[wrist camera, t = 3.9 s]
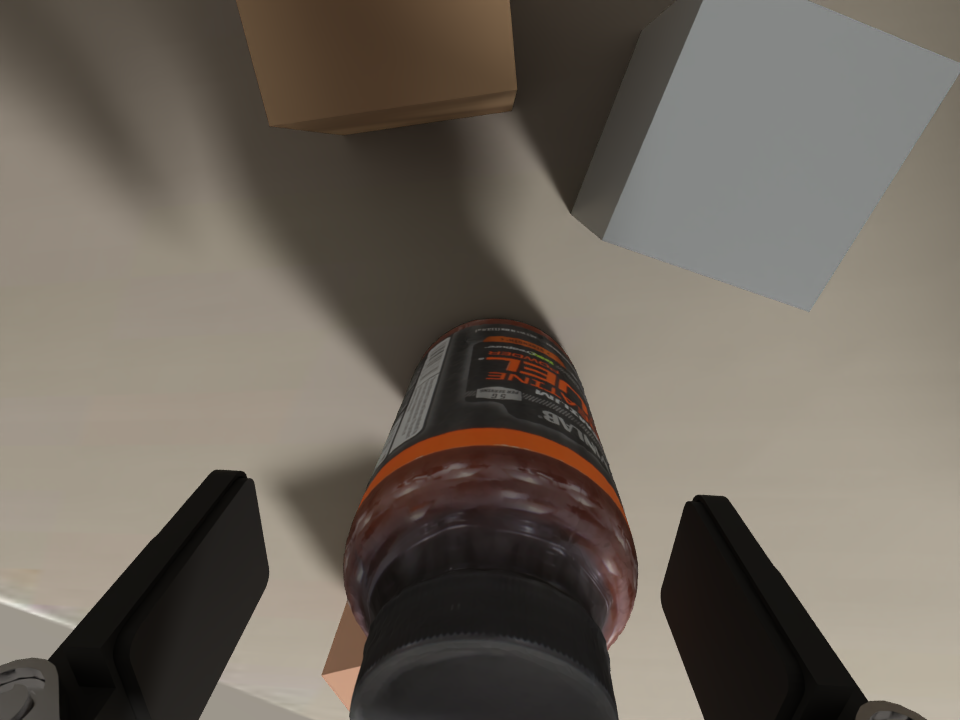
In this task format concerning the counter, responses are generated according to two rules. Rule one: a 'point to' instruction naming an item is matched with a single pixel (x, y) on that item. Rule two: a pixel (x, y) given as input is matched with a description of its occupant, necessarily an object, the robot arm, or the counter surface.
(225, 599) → the robot arm
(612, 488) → the supplement bottle
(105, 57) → the counter surface
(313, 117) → the walnut block
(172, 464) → the counter surface
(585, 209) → the slate grey block
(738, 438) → the counter surface
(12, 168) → the counter surface
